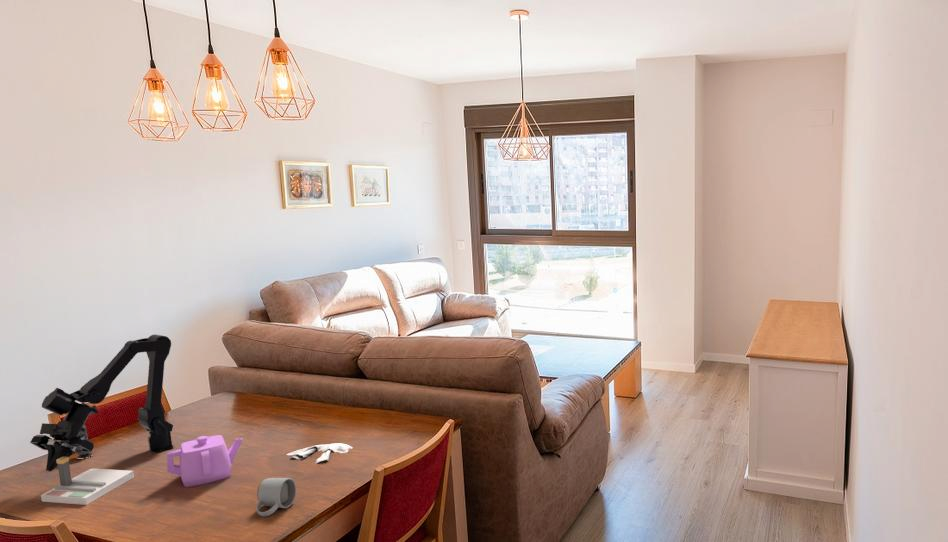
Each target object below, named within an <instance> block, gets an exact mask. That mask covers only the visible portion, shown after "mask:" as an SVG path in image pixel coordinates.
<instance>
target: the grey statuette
mask: <svg viewBox="0 0 948 542" xmlns="http://www.w3.org/2000/svg"><path fill="white" fill-rule="evenodd" d="M83 428H84V429H85V430H84V432H80V433H79V435H78V437H85V438H87V439H88V438H89V437H88V436H89V434H88V433H87V426H86V424H84V426H83ZM88 440H89V439H88ZM74 452H76V453H75V454H77V456H76V457H77V458H86V457H89V456H91V455H92V454H94V453H93V452H83V450H82V447H76V449H75V451H74Z"/></svg>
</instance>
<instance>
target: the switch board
mask: <svg viewBox="0 0 948 542" xmlns="http://www.w3.org/2000/svg"><path fill="white" fill-rule="evenodd" d="M134 478H135V472H134V470H123V469H109V468H107V469H106V468H89V469H88V470H86V471H84V472H82V473H79V474H78V475H76V476H75V477H71V480H72V484H71V485H69V486H61V484H59V485H58V484H57V485H54V487H53V488H52V489H49V490H48V491H46V492H44V493H43V494H40V498H41V502H43V503H45V502H46V503H56V504H69V505H70V504H71V505H83V506H85V505H86V506H87V505H89V504H91V503H93V502H94V501H96V500H97V499H99V498H101V497H102V496H104V495H106V494H108V493H109V492H111V491H113V490H115V489H116V488H118V487H119V486H122V484H125V483H126V482H128V481H129V480H131V479H134Z"/></svg>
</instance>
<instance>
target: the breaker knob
mask: <svg viewBox="0 0 948 542" xmlns="http://www.w3.org/2000/svg"><path fill="white" fill-rule="evenodd" d="M56 461H57V464H58V466H57V469H58V475H59V476H58V477H59V482H60V484H59V485H61V486H69V485H71V484H72V480H71V479H72V475H71V470H70V469H71V468H70V462H69V461H70V457H61V458H59V459H57V460H56Z"/></svg>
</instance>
